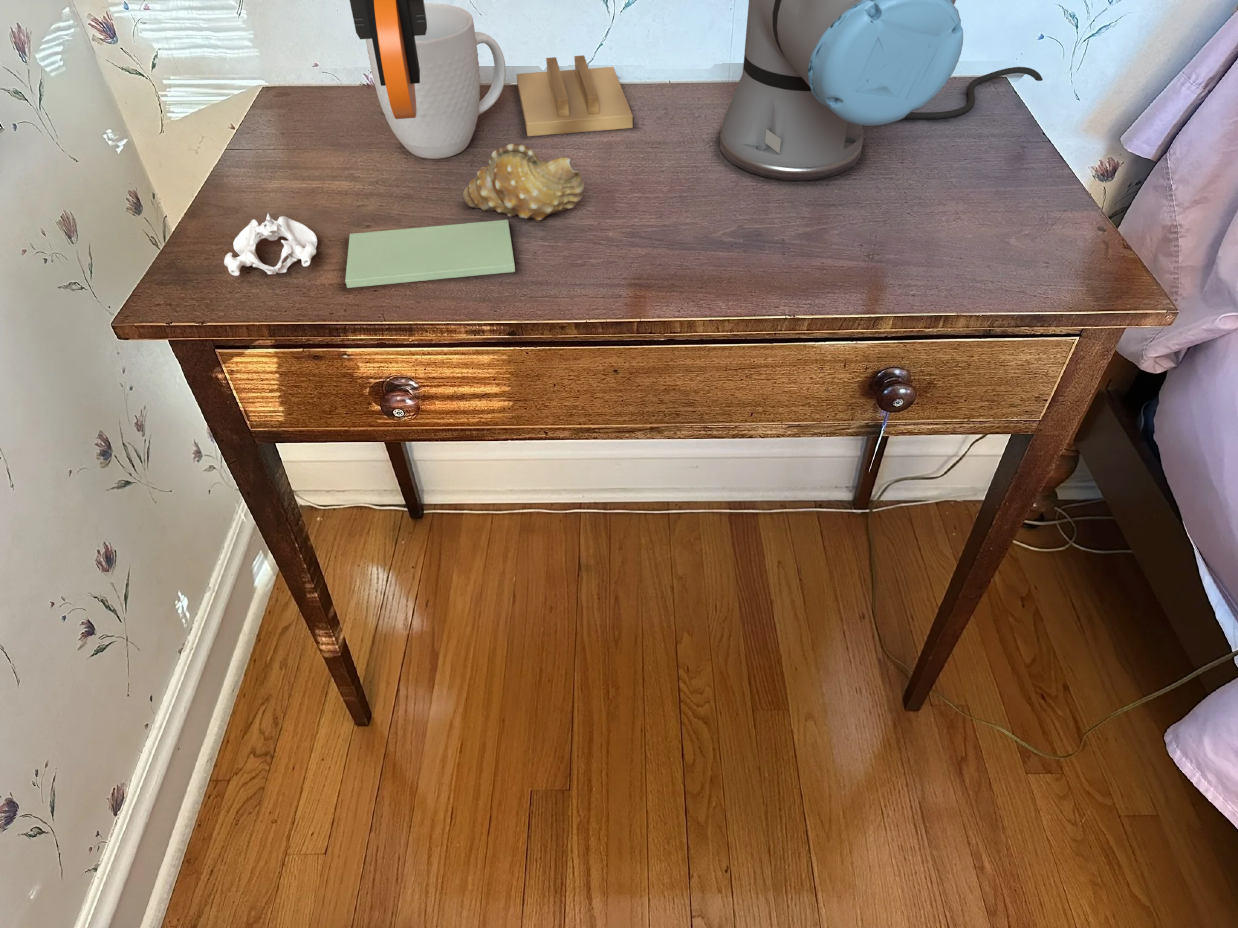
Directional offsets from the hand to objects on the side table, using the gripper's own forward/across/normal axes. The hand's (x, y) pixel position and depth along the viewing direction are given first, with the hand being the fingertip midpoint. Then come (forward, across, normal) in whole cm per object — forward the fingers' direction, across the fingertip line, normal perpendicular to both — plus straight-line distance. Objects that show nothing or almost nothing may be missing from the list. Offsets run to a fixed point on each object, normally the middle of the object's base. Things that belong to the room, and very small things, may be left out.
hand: (400, 77), depth 72 cm
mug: (+16, -2, -23) cm, 28 cm away
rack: (+16, -17, -30) cm, 38 cm away
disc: (+3, 0, 0) cm, 3 cm away
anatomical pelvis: (+17, +14, 0) cm, 22 cm away
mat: (+16, 0, 0) cm, 16 cm away
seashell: (+13, -11, -8) cm, 18 cm away
